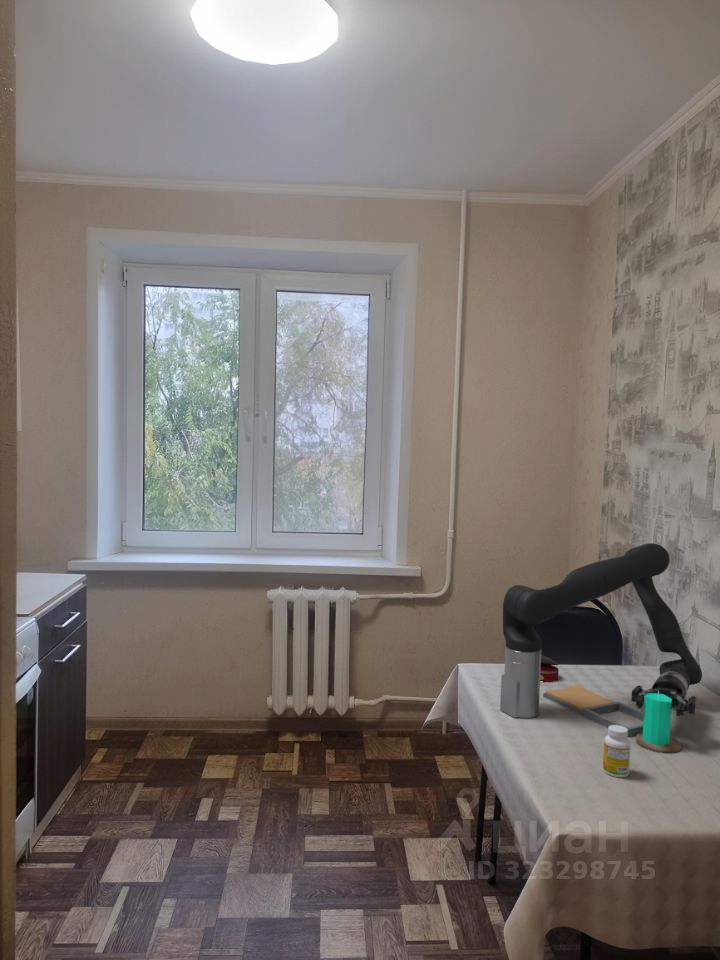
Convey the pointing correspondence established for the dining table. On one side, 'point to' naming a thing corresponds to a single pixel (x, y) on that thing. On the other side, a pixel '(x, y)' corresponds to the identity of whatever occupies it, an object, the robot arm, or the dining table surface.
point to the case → (593, 706)
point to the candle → (657, 719)
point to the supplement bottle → (617, 752)
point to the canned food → (548, 670)
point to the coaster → (670, 748)
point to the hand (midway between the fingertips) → (658, 708)
